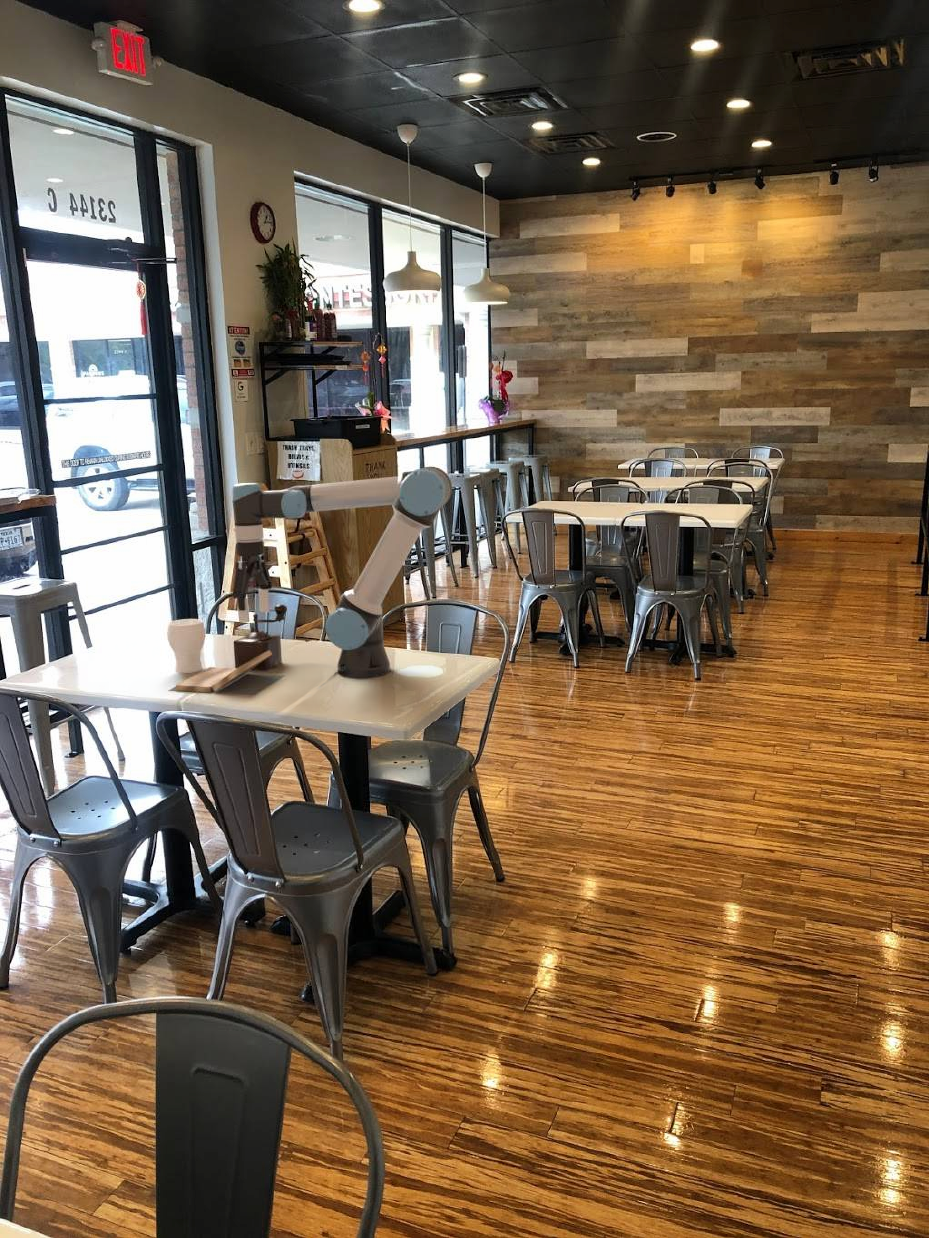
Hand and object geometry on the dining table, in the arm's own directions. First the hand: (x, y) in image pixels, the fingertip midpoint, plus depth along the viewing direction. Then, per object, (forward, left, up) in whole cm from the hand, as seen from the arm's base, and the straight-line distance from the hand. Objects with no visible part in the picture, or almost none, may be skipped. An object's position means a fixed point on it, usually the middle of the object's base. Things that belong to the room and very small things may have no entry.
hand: (254, 616), depth 290 cm
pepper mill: (+5, -16, -19) cm, 25 cm away
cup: (+24, -6, -19) cm, 31 cm away
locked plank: (+12, +6, -17) cm, 22 cm away
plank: (+1, +6, -14) cm, 16 cm away
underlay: (+6, +6, -18) cm, 20 cm away
